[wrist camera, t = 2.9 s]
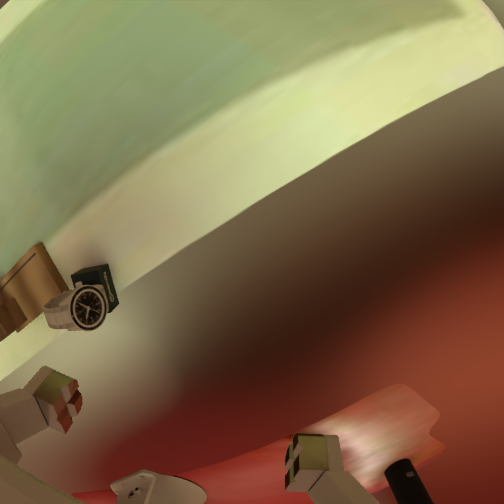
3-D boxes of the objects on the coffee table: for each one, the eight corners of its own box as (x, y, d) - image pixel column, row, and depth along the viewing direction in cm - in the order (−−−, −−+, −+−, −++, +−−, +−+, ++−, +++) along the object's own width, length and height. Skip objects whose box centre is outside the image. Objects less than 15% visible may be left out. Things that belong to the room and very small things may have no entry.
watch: (132, 301, 37) (97, 340, 26) (83, 308, 37) (42, 343, 26) (120, 260, 36) (79, 287, 25) (71, 270, 36) (25, 296, 25)
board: (23, 328, 37) (17, 333, 35) (-1, 287, 36) (-8, 290, 34) (70, 290, 36) (62, 295, 34) (42, 242, 35) (34, 245, 33)
